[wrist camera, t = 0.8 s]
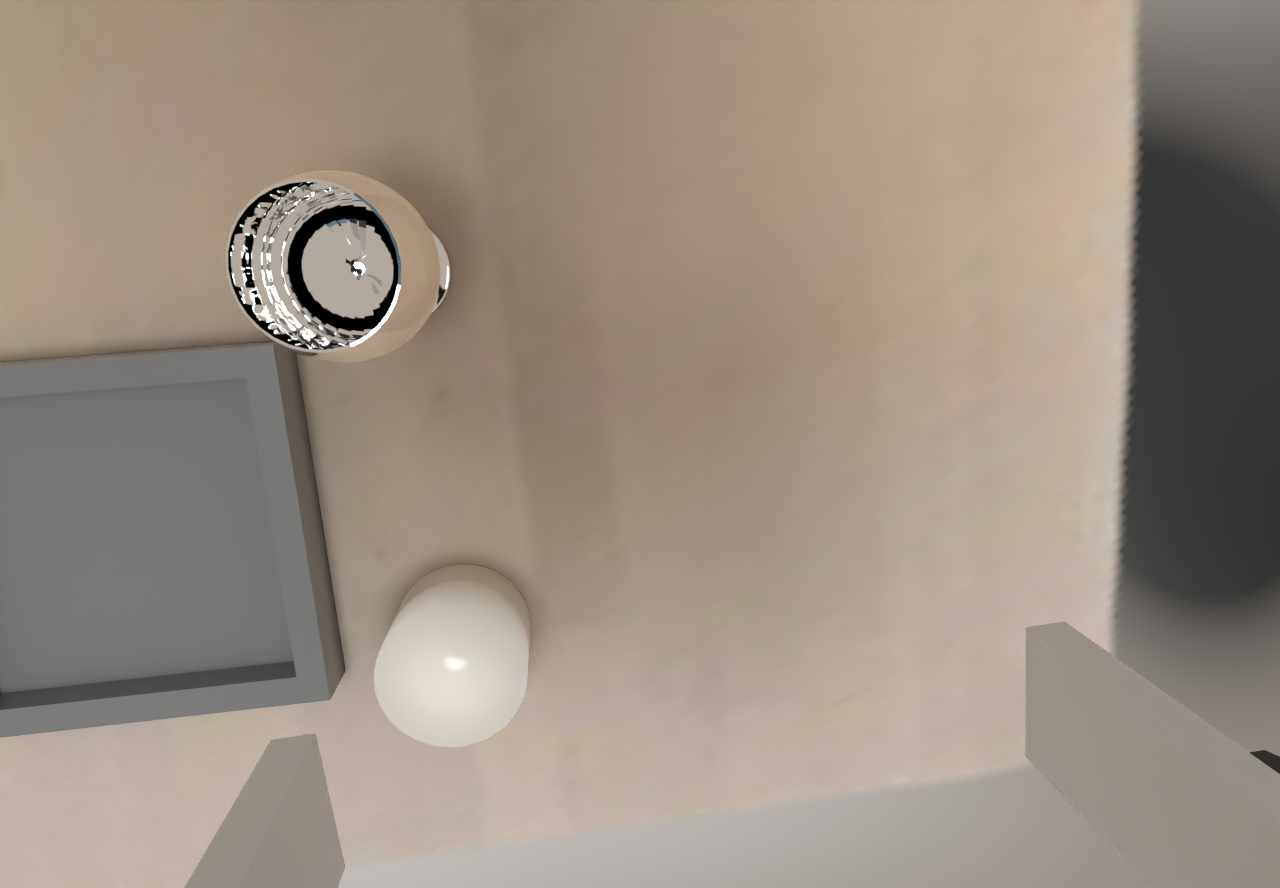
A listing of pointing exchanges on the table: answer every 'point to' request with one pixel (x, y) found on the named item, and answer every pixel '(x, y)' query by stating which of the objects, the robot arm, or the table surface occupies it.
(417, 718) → the white pillar candle
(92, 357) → the tray
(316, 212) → the wineglass
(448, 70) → the table surface
